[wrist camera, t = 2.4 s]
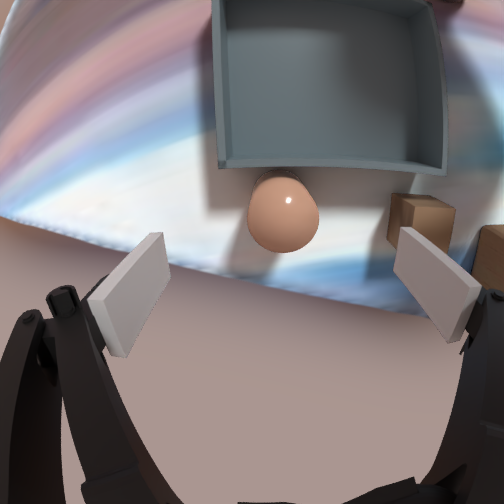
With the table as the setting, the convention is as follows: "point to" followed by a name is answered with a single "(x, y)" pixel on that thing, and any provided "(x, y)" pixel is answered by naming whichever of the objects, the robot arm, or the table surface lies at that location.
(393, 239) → the walnut cube
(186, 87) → the table surface
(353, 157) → the tote
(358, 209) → the table surface
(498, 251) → the wooden block
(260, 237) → the peach colored egg
